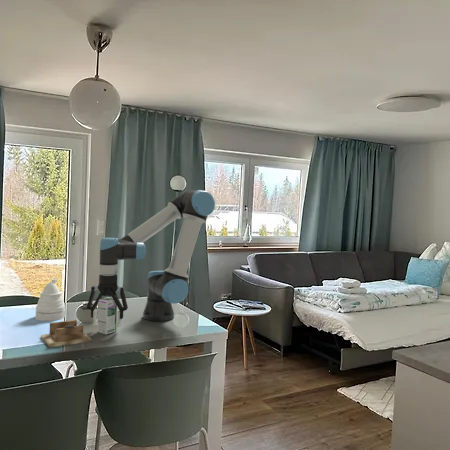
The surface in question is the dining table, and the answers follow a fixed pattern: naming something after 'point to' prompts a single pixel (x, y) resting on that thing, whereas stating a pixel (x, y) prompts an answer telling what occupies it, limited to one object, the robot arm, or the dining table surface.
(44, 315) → the honey pot
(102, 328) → the syrup box
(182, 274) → the robot arm
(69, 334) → the square wooden frame
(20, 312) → the dining table surface
